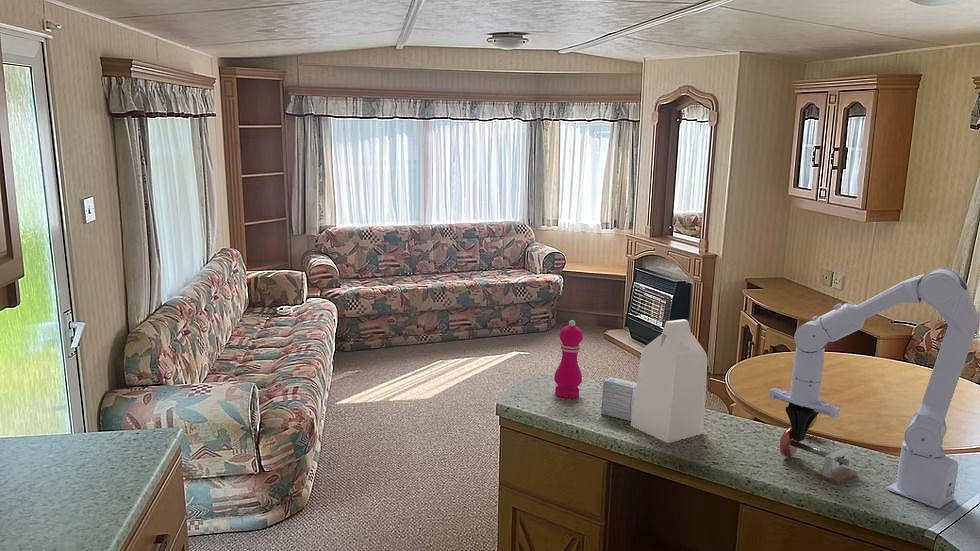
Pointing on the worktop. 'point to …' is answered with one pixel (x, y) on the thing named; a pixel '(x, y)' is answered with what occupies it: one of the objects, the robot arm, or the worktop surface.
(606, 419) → the worktop surface
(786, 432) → the red wheel with axle
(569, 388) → the pepper mill
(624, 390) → the grey rectangular block
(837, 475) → the eye bracket
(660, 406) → the milk
